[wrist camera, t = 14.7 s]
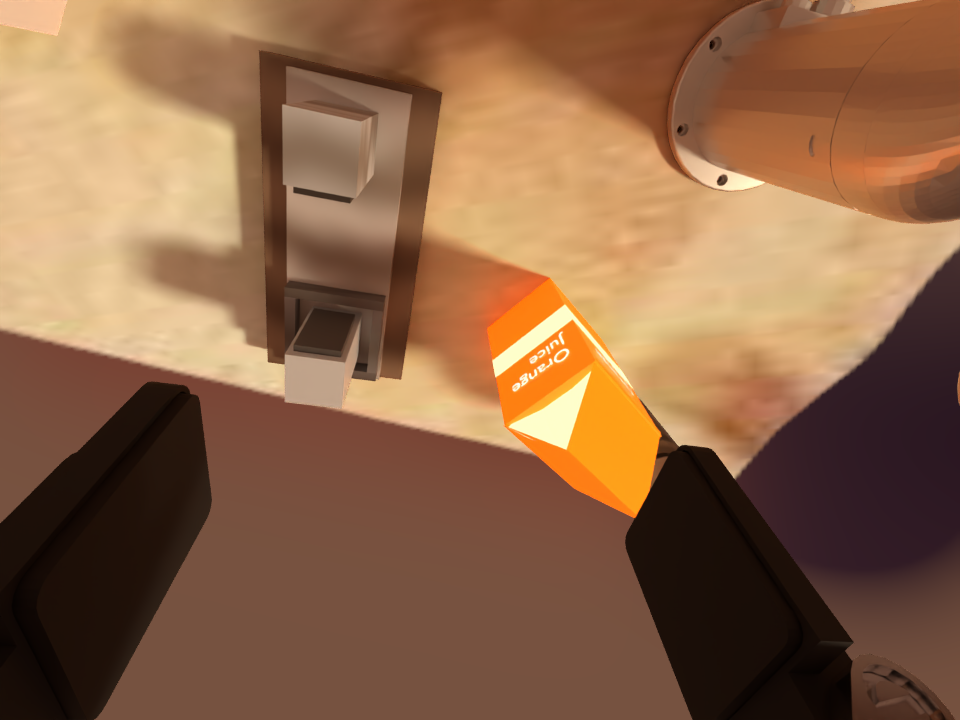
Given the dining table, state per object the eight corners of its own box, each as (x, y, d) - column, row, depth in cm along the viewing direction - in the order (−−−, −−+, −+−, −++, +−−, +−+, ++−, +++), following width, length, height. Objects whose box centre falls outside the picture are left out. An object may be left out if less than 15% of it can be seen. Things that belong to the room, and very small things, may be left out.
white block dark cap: (313, 300, 38) (284, 348, 31) (362, 308, 39) (345, 356, 32) (311, 347, 40) (284, 401, 33) (358, 354, 41) (341, 408, 34)
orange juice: (550, 276, 42) (625, 410, 25) (603, 339, 46) (700, 494, 28) (484, 329, 44) (512, 485, 27) (540, 385, 48) (595, 553, 31)
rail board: (269, 52, 32) (194, 38, 22) (442, 92, 34) (441, 96, 24) (274, 351, 44) (227, 426, 34) (402, 368, 46) (392, 444, 36)
